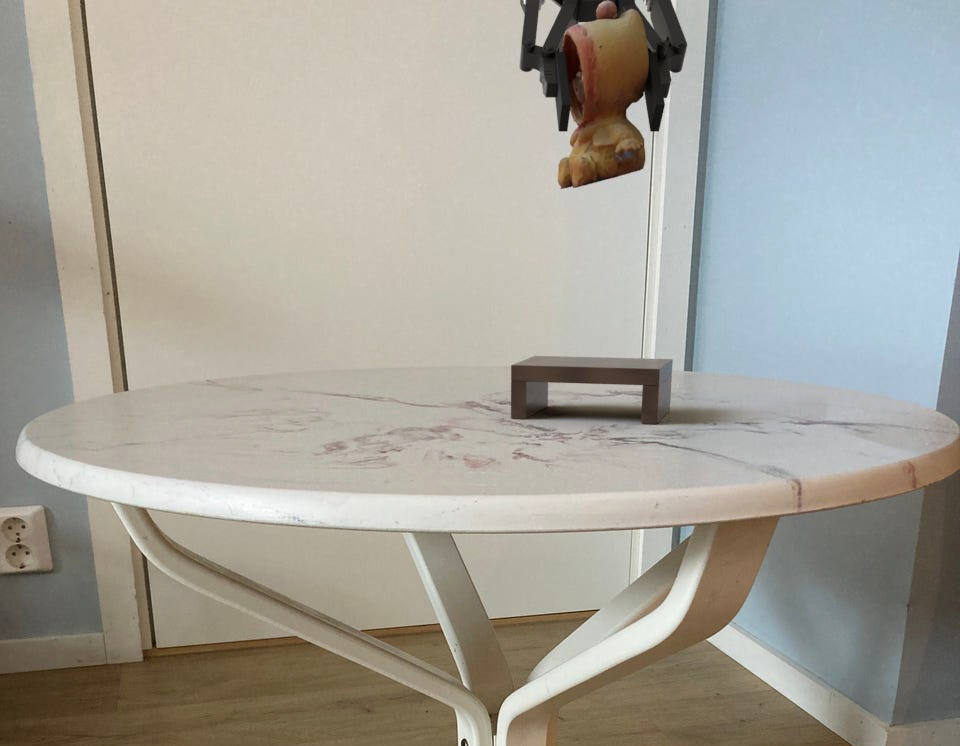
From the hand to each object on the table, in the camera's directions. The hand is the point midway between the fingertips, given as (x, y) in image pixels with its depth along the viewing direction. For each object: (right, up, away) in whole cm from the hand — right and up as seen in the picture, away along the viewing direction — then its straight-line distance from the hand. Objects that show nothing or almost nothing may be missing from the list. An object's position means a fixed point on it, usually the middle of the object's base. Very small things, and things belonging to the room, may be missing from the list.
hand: (611, 118), depth 94 cm
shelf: (0, -23, +13) cm, 26 cm away
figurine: (0, -4, +5) cm, 7 cm away
